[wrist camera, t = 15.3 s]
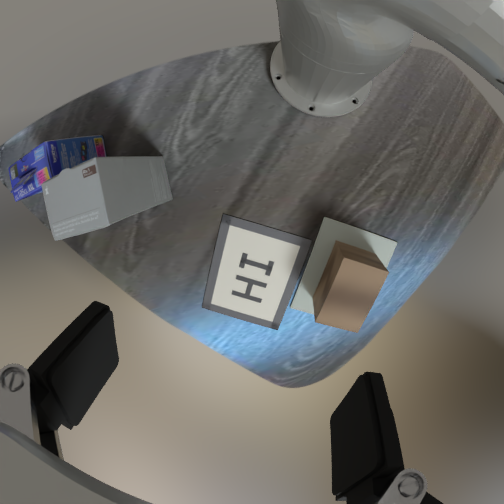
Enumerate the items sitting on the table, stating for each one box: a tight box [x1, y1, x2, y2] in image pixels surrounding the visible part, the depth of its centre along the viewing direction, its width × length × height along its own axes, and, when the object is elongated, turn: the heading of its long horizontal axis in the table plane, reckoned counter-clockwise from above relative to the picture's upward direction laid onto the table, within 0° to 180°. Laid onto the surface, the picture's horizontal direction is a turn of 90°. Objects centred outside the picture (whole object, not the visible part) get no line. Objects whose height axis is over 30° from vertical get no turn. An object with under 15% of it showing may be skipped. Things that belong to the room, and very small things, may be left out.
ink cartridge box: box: [9, 135, 107, 201], centre depth 29 cm, size 10×6×14 cm, turn 101°
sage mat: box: [290, 217, 397, 314], centre depth 37 cm, size 14×11×1 cm
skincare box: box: [41, 156, 172, 241], centre depth 29 cm, size 8×7×16 cm
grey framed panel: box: [202, 214, 312, 330], centre depth 39 cm, size 15×12×1 cm
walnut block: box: [312, 240, 389, 333], centre depth 34 cm, size 9×6×6 cm, turn 165°
